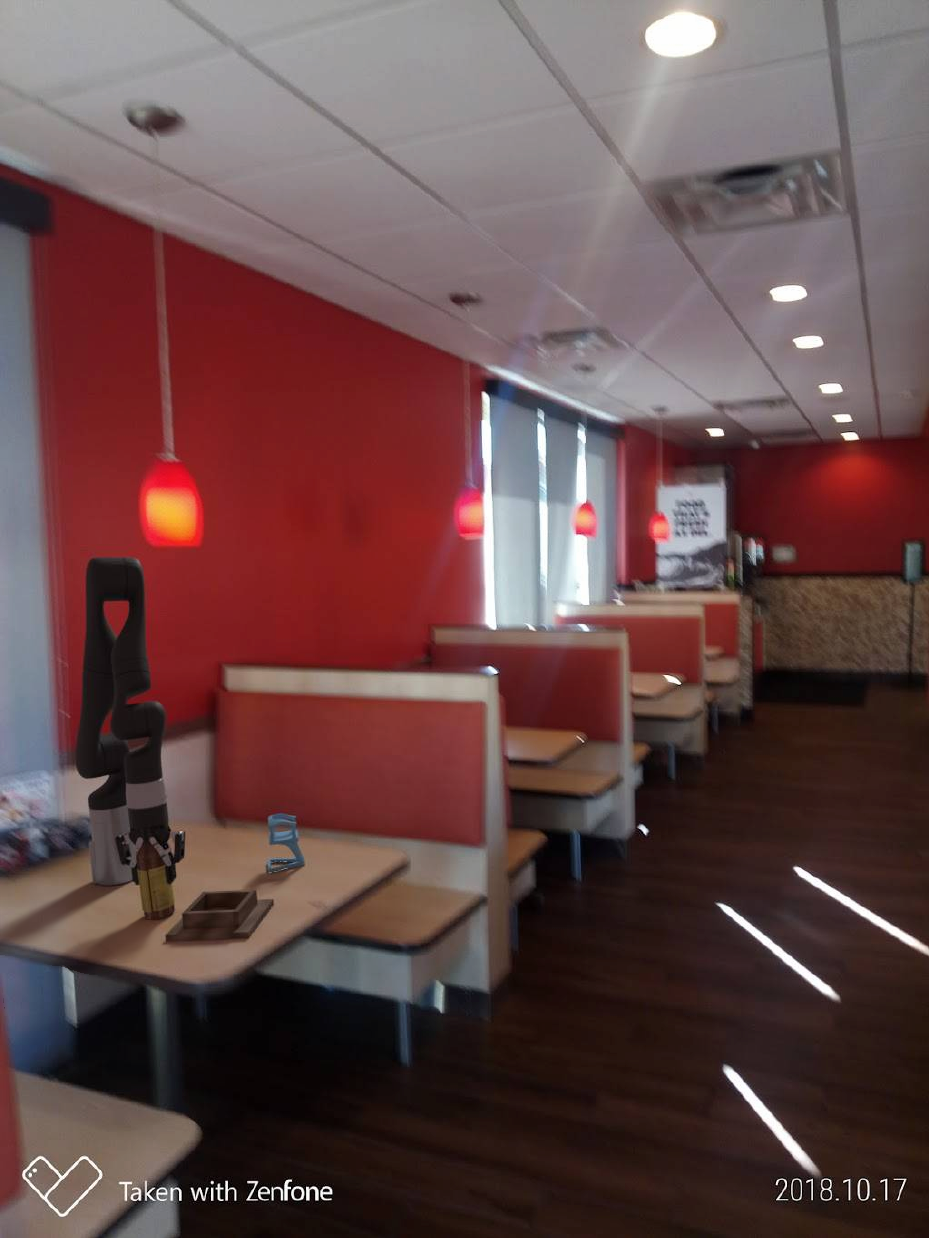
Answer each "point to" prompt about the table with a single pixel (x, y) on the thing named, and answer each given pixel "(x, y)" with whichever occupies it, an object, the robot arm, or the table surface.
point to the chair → (284, 841)
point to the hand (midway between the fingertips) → (155, 882)
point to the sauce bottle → (153, 880)
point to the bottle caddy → (221, 916)
